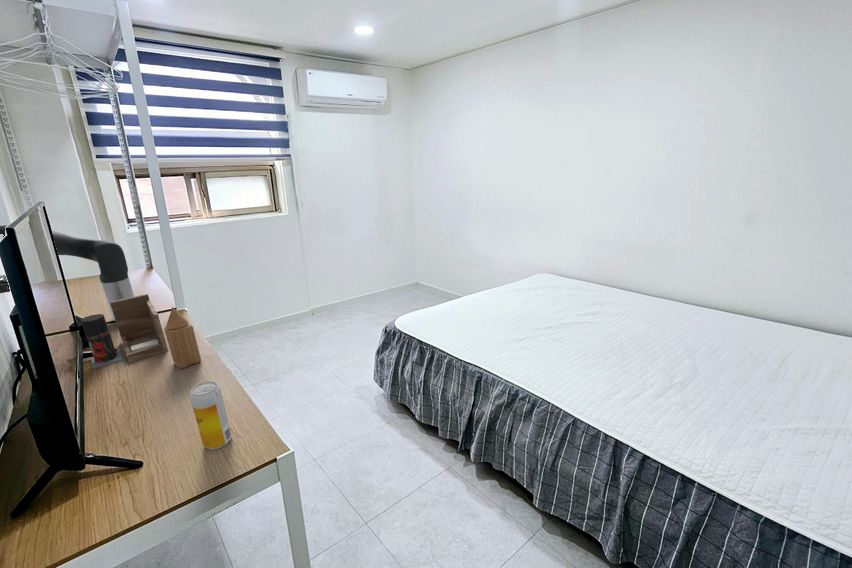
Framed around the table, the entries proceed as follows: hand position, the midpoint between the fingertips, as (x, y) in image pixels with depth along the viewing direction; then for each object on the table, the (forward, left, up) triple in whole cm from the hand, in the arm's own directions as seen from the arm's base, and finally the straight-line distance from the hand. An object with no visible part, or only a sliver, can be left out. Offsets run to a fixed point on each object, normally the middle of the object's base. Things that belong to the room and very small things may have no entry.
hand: (40, 277), depth 123 cm
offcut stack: (+12, +20, -30) cm, 38 cm away
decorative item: (+30, +29, -30) cm, 51 cm away
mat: (+8, +9, -30) cm, 32 cm away
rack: (+6, +20, -30) cm, 36 cm away
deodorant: (+8, +9, -30) cm, 32 cm away
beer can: (+78, +26, -30) cm, 87 cm away
